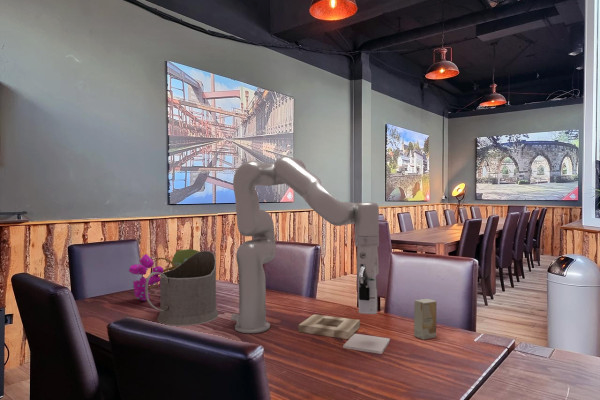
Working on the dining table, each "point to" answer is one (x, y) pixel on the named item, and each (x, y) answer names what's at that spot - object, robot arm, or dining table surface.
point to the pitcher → (188, 292)
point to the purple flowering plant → (155, 270)
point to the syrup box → (370, 305)
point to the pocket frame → (318, 327)
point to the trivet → (367, 343)
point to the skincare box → (425, 318)
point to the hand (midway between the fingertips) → (367, 296)
